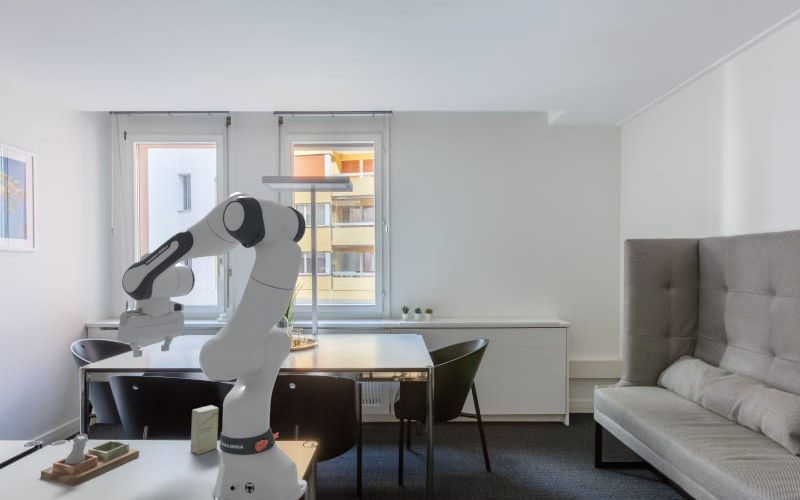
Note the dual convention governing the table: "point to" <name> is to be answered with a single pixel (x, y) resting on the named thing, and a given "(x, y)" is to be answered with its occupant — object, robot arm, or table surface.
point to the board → (91, 463)
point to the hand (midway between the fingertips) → (151, 353)
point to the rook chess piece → (77, 450)
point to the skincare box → (204, 429)
